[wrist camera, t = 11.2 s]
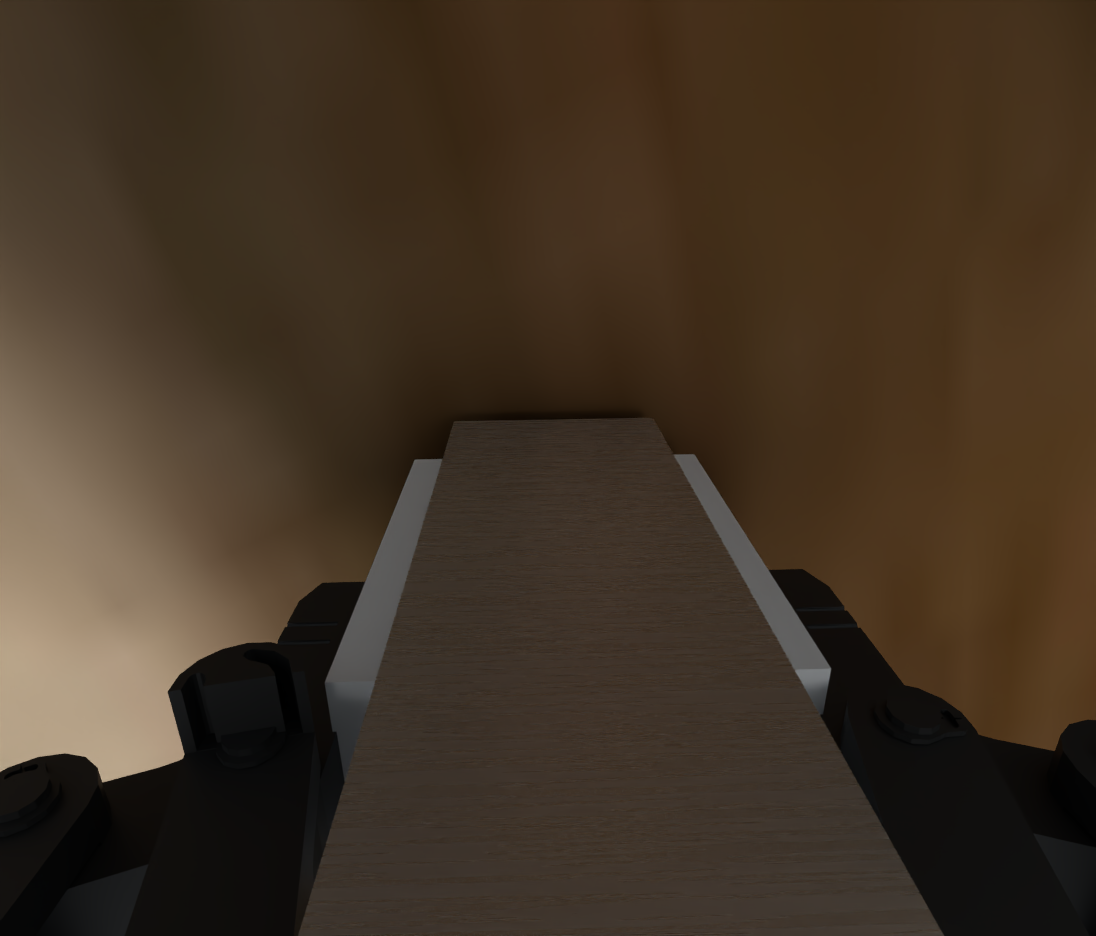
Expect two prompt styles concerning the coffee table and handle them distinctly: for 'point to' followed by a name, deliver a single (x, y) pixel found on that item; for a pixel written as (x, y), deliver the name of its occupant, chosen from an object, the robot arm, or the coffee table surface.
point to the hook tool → (593, 723)
